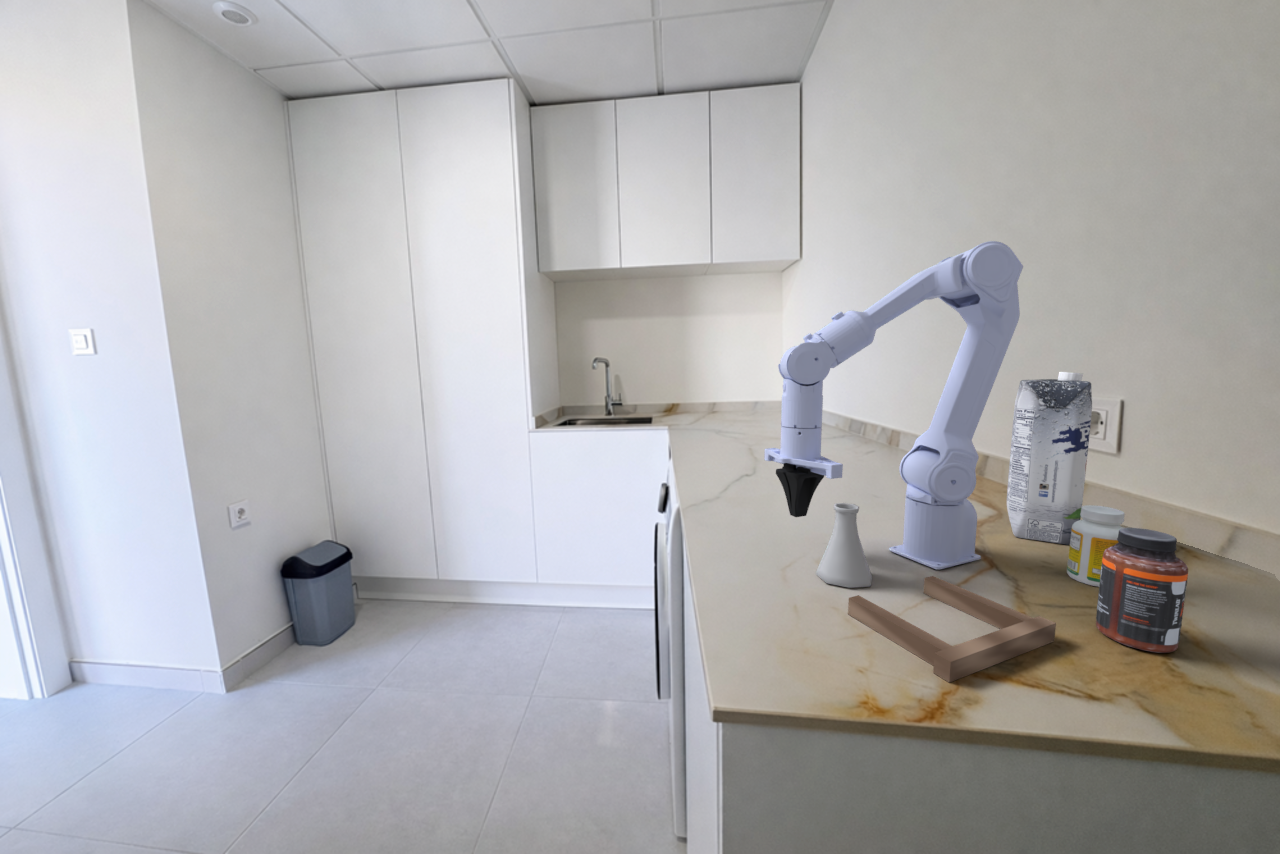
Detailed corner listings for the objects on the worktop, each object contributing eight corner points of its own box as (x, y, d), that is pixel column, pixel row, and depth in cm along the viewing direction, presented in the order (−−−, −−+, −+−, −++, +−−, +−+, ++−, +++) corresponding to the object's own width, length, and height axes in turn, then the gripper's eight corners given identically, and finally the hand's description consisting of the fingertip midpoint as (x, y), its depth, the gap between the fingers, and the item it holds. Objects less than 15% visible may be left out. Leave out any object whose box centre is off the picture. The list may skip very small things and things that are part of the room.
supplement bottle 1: (1057, 575, 63) (1064, 506, 62) (1081, 568, 65) (1088, 501, 64) (1108, 592, 58) (1116, 517, 57) (1133, 585, 60) (1142, 512, 59)
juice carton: (1007, 538, 77) (1021, 372, 73) (1003, 521, 85) (1015, 371, 82) (1081, 549, 72) (1099, 372, 68) (1069, 529, 80) (1085, 371, 77)
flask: (880, 592, 59) (884, 515, 58) (819, 587, 61) (822, 512, 60) (865, 568, 66) (868, 499, 65) (811, 564, 68) (813, 497, 67)
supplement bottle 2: (1196, 660, 45) (1212, 546, 43) (1119, 651, 46) (1132, 541, 45) (1148, 627, 50) (1161, 526, 49) (1081, 620, 52) (1092, 521, 51)
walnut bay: (937, 589, 60) (938, 574, 59) (1054, 641, 48) (1056, 622, 48) (841, 616, 54) (842, 599, 53) (949, 682, 42) (950, 662, 42)
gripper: (749, 422, 75) (747, 505, 76) (815, 434, 61) (811, 534, 63) (785, 420, 77) (782, 500, 79) (856, 431, 64) (851, 527, 66)
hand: (798, 515), depth 71 cm, fingers closed
